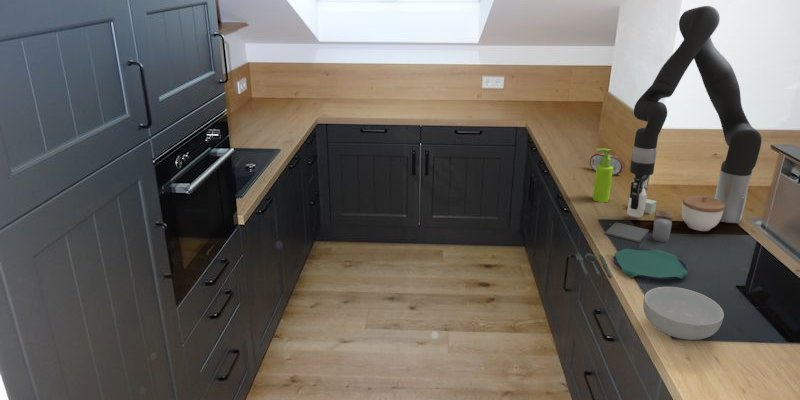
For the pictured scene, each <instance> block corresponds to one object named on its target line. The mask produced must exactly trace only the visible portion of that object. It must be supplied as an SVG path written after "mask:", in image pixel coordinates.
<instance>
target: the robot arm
mask: <svg viewBox="0 0 800 400" xmlns="http://www.w3.org/2000/svg"><path fill="white" fill-rule="evenodd" d="M720 19H721V18H720V13H719V11H718V10H717V9H716V8H715V7H714V6H710V5H702V6H698V7H694V8H691V9H690V8H689V9H688V10H686V11H684V12H683V13H681V15H680V18H679V20H678V28H679V31H680V34H681V36H682V37H683V40H682V42H681V43H680V45H679V46H678V47H677V49H676V50H675V51H674V53H672V55H671V56H669V58H668V59H667V60H666V61H665V63H663V65H662V67H660V70H659V71H658V74H657V75H656V77H655V79H654V81H653V82H652V84H651V86H650V87H649V88H648V89H646V91H645V92H644V93H643V94H642V95H641V96H640V97H639V99H637V101H636V102H635V104H634V108H633V115H634V117H635V118H636V119H637V120H639V121H644V122H646V123H647V124H646V126H645V127H639V128H638V129H637V130H636V132H635V135H634V143H633V149H632V152H631V157H630V159H631V160H630V165H629V166H630V167H629V172H630V173H631V174H633V175H634V177H633V178H632V181H631V183H630V193H629V197H630V198H632V201H631V209H637V208H638V203H639V198H640V194H641V193H642V192H643V188H644V189H645V191H647V189H648V183H649V177H650V176H651V175H653V174H654V171H655V165H656V158H657V145H658V139H659V136H660V133H661V130H662V129H663V126H664V124H665V122H666V120H667V117H668V109H667V106H666V104H665V103H663V102H661V101H660V100H662V99H665V98H670V97H671V96H673V94H674V93H675V90H676V89H677V87H678V86H679V83H680V82H681V79H682V78H683V76H684V74H685V73H686V72H687V70H688V68H689V66H690V65H691V63H692V62H693V61H694V62H695V64H696V68H697V69H698V72H699V74H700V77H701V80H702V82H703V85H704V88H705V90H706V91H705V92H706V93H707V95H708V97H709V100H710V102H711V104H712V106H713V108H714V110H715V111H716V113H717V116H718V118H719V121H720V124H721V128H722V133H723V137H724V140H725V143H726V145H727V147H728V150H727V154H726V158H725V160H724V161H722V163H721V166H720V171H719V175H718V180H717V184H716V185H717V186H716V189H715V195H714V199H717V200H719V201H721V202H723V203H724V204H725V208H724V211H723V215H722V218H721V220H720V222H722V223H727V224H738V225H739V224H740V223H741V221H742V219H743V213H744V210H745V206H746V201H747V198H748V197H747V196H748V190H749V185H750V181H751V176H752V173H753V170H754V169H755V167H756V165H757V162H758V158H759V154H760V150H761V147H762V146H761V145H762V135H761V133H760V132H759V130H757V129H756V128H754V127H753V126H752V125H751V123H750V121H749V120H748V118H747V116H746V113H745V112H744V109H743V106H742V97H741V90H740V84H739V81H738V78H737V76H736V73H735V71H734V69H733V67H732V65H731V63H730V62H729V61H728V60H727V59H726V58H725V56H724V55H722V54H721V52H720V51H719V50H718V49H717V48H716V46H715V44H714V42H713V41H712V38H711V37H712V35H713V34H714V32H715V31H716V29H717V27H718V26H719V24H720ZM639 189H641V190H639ZM634 193H636V195H634Z"/></svg>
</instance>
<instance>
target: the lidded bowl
mask: <svg viewBox="0 0 800 400" xmlns="http://www.w3.org/2000/svg"><path fill="white" fill-rule="evenodd" d="M724 208H725V204H724V203H723V202H721V201H719V200H717V199H715V197H714V198H713V197H709V196H706V195H688V196H685V197H684V198H683V199H682V205H681V217H682V220H683V222H684V223H685V224H686V227H688V228H689V229H690V230H691V229H692V230H694V231H699V232H709V231H711V229H713V228H716V226H717V225H718V224H719V223H720V222H721V221H720V220H721V218H722V215H723V211H724Z"/></svg>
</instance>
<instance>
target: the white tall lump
mask: <svg viewBox="0 0 800 400" xmlns="http://www.w3.org/2000/svg"><path fill="white" fill-rule="evenodd" d="M639 190H641V189H639ZM646 191H647V190H645V189H644V188H643V192H642V193H641V194H640V198H639V203H638V208H637V209H631V201H632V198H630V196H628V197H629V199H628V205H627V209H626V210H627V211H626V214H627V215H628V216H630V217H633V218H641V217H643V216H644V213H645V212H644V210H645V204H646V199H648V194H647V192H646ZM634 195H636V193H634Z"/></svg>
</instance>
